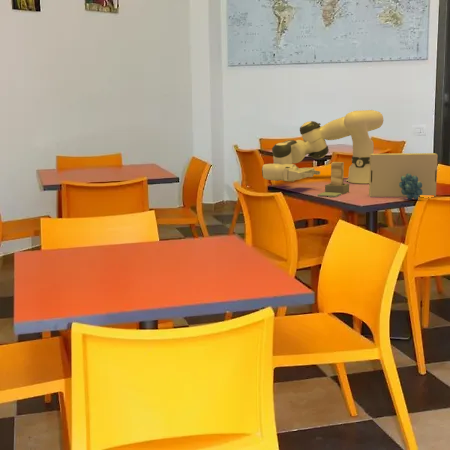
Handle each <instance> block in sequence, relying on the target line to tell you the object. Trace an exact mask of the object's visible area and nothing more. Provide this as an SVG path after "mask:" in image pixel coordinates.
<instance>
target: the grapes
mask: <svg viewBox="0 0 450 450" xmlns="http://www.w3.org/2000/svg"><path fill="white" fill-rule="evenodd" d="M401 181H402V182H400V183H399V186H400V188H402V190H401V192H402V194H403V195H407V197H406V198H407V199H408V200H409V201H410V200H412V199H414V200H419V198H420V197H419V195H422V193H423V191H422V189H420V188H421V187H422V183H421V182H419V181H418V177H417V176H415V175H414V176H412V175H411V174H409V173H408V174H406V177H405V176H402V177H401ZM417 181H418V182H417ZM418 197H419V198H418Z"/></svg>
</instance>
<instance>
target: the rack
mask: <svg viewBox="0 0 450 450" xmlns="http://www.w3.org/2000/svg"><path fill="white" fill-rule="evenodd" d="M324 192H332V193H342V195H345V194H347V192H348V193H350V183H343V185H342V186H340V185H331V182H329V183H326V184H325V185H324ZM344 193H345V194H344Z"/></svg>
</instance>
